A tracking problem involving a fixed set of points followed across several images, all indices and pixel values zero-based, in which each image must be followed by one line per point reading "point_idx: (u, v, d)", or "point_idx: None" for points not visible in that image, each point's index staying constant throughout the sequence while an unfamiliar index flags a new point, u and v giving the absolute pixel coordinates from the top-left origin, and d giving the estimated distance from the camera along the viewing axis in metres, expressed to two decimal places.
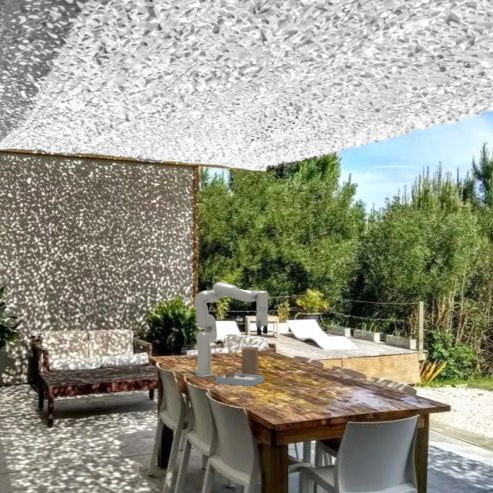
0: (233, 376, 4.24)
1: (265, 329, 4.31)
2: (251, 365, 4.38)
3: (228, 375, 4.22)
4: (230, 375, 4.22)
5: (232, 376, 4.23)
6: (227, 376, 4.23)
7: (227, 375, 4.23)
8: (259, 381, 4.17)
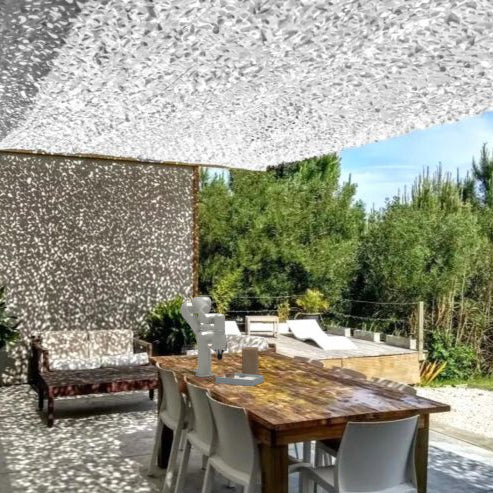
0: (233, 376, 4.24)
1: None
2: (251, 365, 4.38)
3: (228, 375, 4.22)
4: (230, 375, 4.22)
5: (232, 376, 4.23)
6: (227, 376, 4.23)
7: (227, 375, 4.23)
8: (259, 381, 4.17)
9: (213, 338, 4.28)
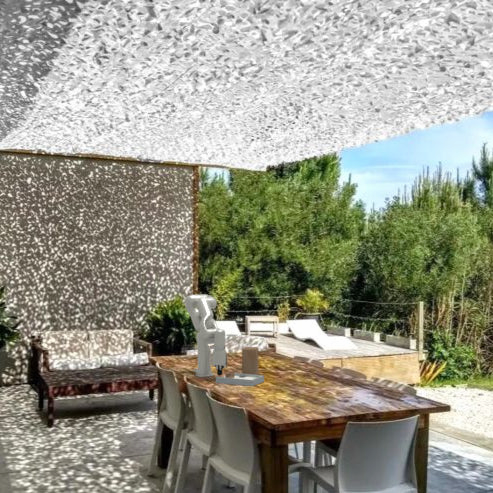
0: (233, 376, 4.24)
1: None
2: (251, 365, 4.38)
3: (228, 375, 4.22)
4: (230, 375, 4.22)
5: (232, 376, 4.23)
6: (227, 376, 4.23)
7: (227, 375, 4.23)
8: (259, 381, 4.17)
9: (213, 354, 4.27)
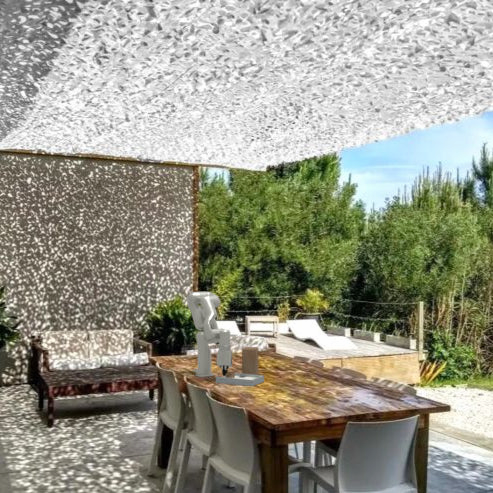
0: (233, 376, 4.24)
1: None
2: (251, 365, 4.38)
3: (228, 375, 4.22)
4: (230, 375, 4.22)
5: (232, 376, 4.23)
6: (227, 376, 4.23)
7: (227, 375, 4.23)
8: (259, 381, 4.17)
9: (218, 354, 4.26)
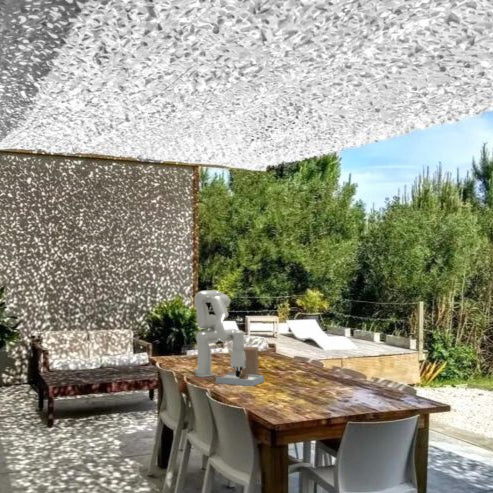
0: (247, 377, 4.20)
1: None
2: (251, 365, 4.38)
3: (242, 376, 4.18)
4: (244, 376, 4.18)
5: (246, 377, 4.19)
6: (240, 377, 4.19)
7: (241, 376, 4.18)
8: (259, 381, 4.17)
9: (232, 355, 4.21)
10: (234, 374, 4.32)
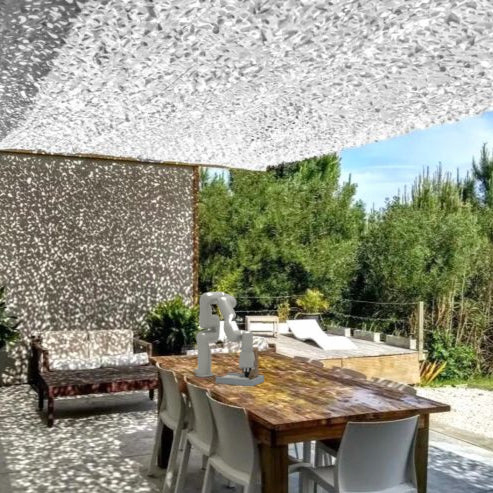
0: None
1: None
2: None
3: (251, 377, 4.15)
4: (253, 377, 4.15)
5: None
6: (250, 378, 4.16)
7: (250, 377, 4.16)
8: (259, 381, 4.17)
9: (240, 356, 4.18)
10: (234, 374, 4.32)
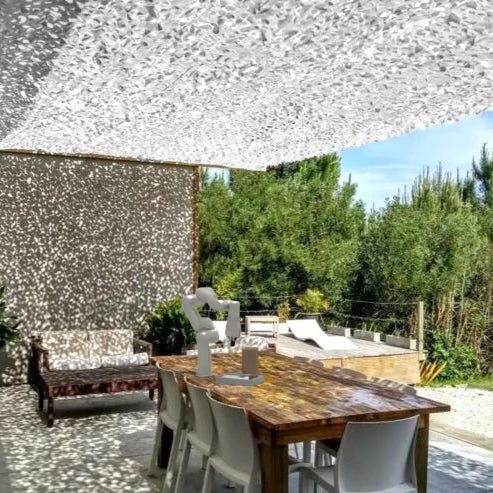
0: None
1: None
2: (251, 365, 4.38)
3: (251, 377, 4.15)
4: (253, 377, 4.15)
5: None
6: (250, 378, 4.16)
7: (250, 377, 4.16)
8: (259, 381, 4.17)
9: (227, 325, 4.26)
10: (234, 374, 4.32)
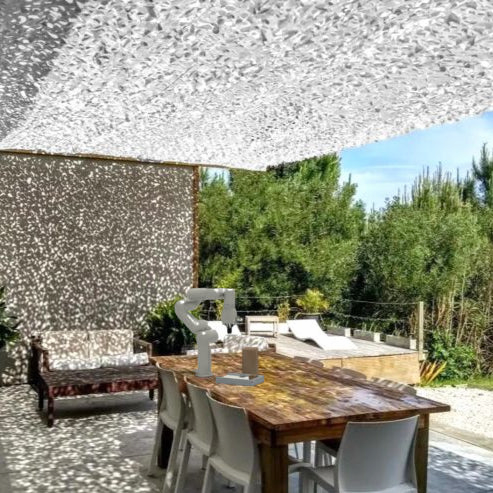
0: None
1: None
2: (251, 365, 4.38)
3: (251, 377, 4.15)
4: (253, 377, 4.15)
5: None
6: (250, 378, 4.16)
7: (250, 377, 4.16)
8: (259, 381, 4.17)
9: (223, 312, 4.33)
10: (234, 374, 4.32)
